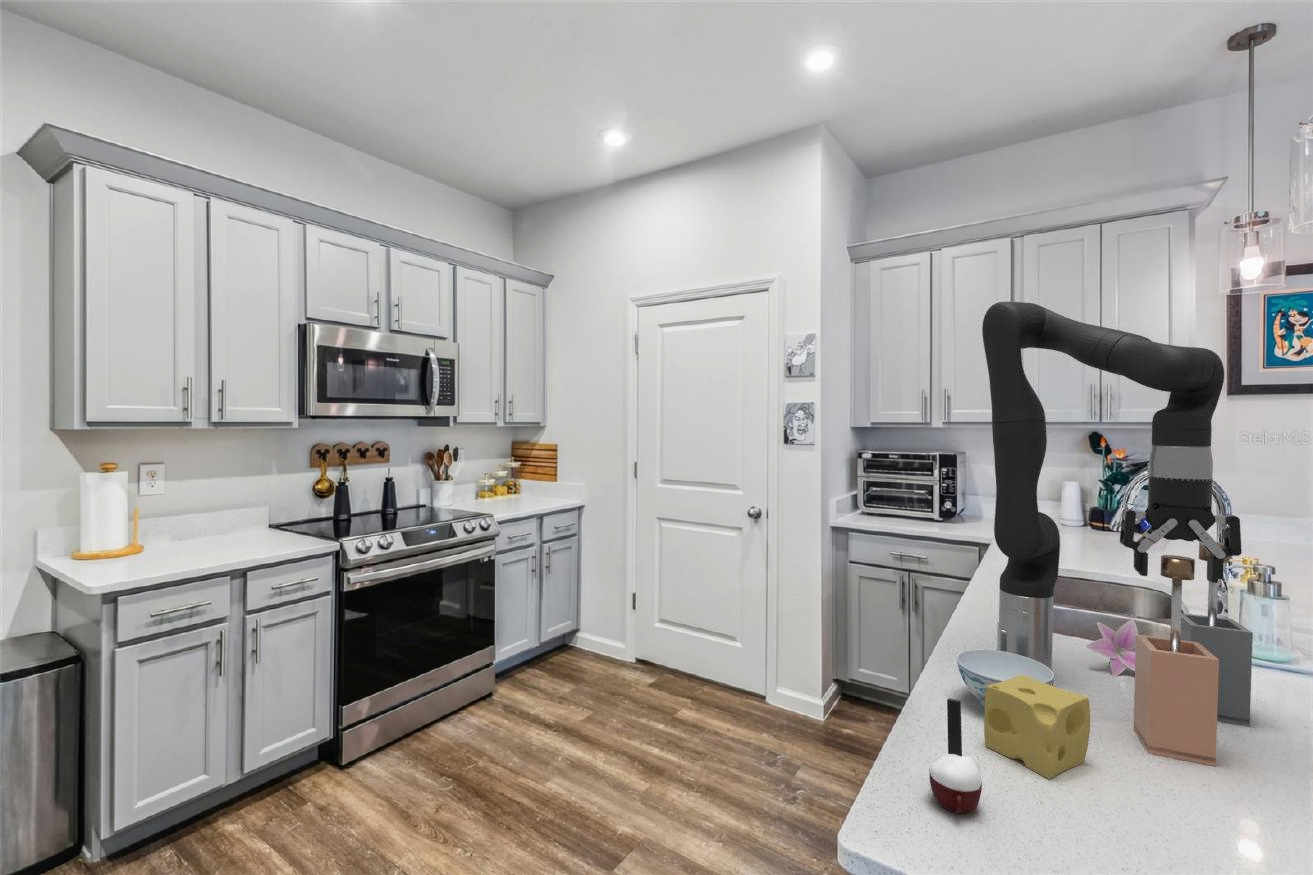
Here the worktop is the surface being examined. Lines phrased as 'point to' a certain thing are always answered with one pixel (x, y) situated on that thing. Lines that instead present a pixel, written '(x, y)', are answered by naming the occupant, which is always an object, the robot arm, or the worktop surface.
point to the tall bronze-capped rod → (1211, 588)
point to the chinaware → (997, 669)
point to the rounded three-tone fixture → (956, 769)
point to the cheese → (1037, 724)
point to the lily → (1117, 646)
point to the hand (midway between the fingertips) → (1177, 578)
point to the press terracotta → (1176, 699)
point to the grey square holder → (1226, 663)
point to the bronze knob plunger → (1176, 591)
